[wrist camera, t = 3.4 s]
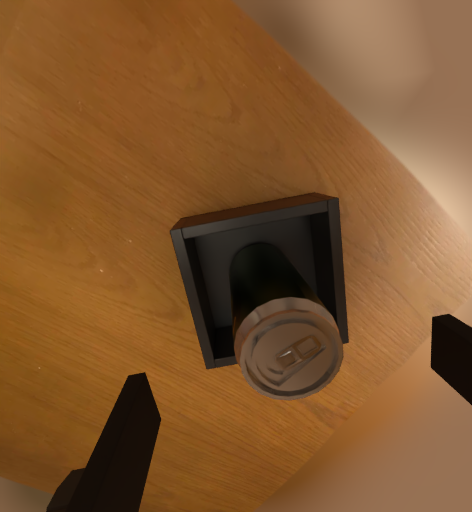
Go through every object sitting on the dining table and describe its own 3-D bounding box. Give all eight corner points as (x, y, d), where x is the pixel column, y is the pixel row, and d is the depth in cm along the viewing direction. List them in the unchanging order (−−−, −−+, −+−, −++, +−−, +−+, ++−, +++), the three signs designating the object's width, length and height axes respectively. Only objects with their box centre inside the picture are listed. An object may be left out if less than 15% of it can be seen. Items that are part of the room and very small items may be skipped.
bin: (314, 192, 23) (338, 197, 18) (326, 312, 26) (349, 343, 22) (180, 218, 23) (169, 230, 18) (209, 334, 26) (206, 369, 22)
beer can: (266, 228, 23) (310, 284, 12) (300, 275, 24) (368, 366, 13) (216, 264, 24) (211, 350, 12) (251, 308, 25) (275, 421, 14)
